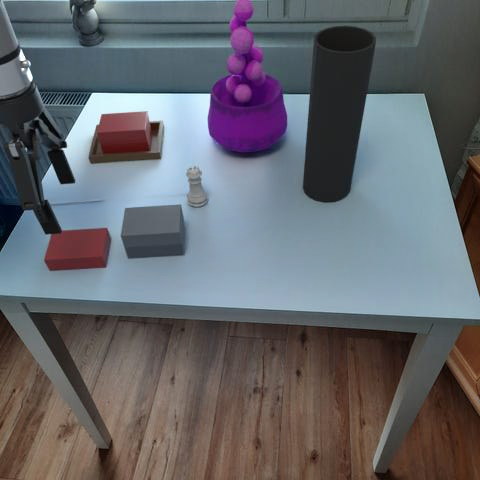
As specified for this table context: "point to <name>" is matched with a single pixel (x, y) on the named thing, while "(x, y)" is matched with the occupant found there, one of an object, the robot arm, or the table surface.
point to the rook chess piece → (196, 188)
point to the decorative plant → (246, 94)
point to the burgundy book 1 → (78, 249)
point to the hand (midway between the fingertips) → (61, 206)
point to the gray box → (153, 231)
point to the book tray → (153, 154)
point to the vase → (336, 109)
